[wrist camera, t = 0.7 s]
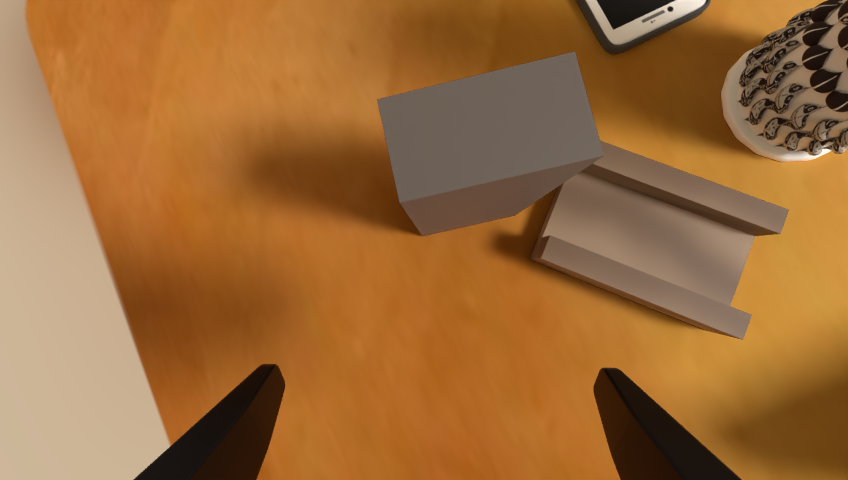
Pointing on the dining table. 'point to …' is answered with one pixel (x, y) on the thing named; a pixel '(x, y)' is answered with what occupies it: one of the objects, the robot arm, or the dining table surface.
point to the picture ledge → (657, 237)
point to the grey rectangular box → (488, 142)
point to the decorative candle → (793, 88)
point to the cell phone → (636, 19)
